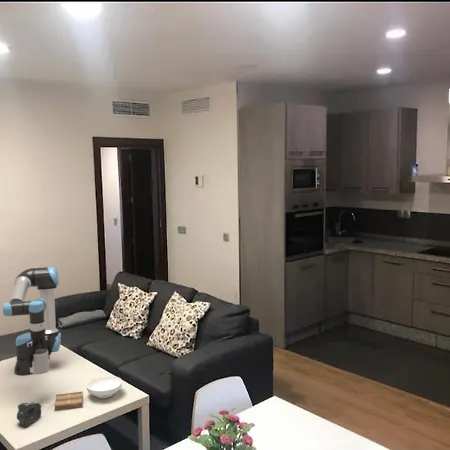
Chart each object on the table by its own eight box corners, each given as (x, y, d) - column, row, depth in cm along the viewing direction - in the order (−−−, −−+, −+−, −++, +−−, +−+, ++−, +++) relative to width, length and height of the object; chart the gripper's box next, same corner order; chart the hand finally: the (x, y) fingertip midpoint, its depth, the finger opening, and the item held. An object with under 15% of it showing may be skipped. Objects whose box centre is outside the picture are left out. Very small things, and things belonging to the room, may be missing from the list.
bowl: (129, 390, 276) (128, 378, 275) (110, 405, 258) (109, 393, 257) (99, 385, 283) (99, 373, 282) (79, 400, 264) (78, 388, 263)
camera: (23, 415, 249) (22, 396, 248) (42, 414, 250) (41, 396, 248) (13, 429, 236) (12, 409, 235) (34, 428, 236) (33, 408, 235)
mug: (49, 372, 261) (48, 353, 259) (32, 375, 258) (31, 355, 256) (49, 364, 272) (48, 345, 270) (32, 366, 269) (31, 347, 267)
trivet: (56, 399, 266) (56, 394, 266) (82, 395, 270) (82, 391, 270) (54, 411, 253) (54, 406, 252) (82, 407, 256) (82, 402, 256)
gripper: (25, 336, 250) (27, 378, 253) (58, 324, 269) (60, 363, 271) (15, 334, 254) (18, 375, 256) (49, 322, 272) (50, 361, 275)
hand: (39, 369), depth 264 cm, fingers closed on mug, 9 cm apart
